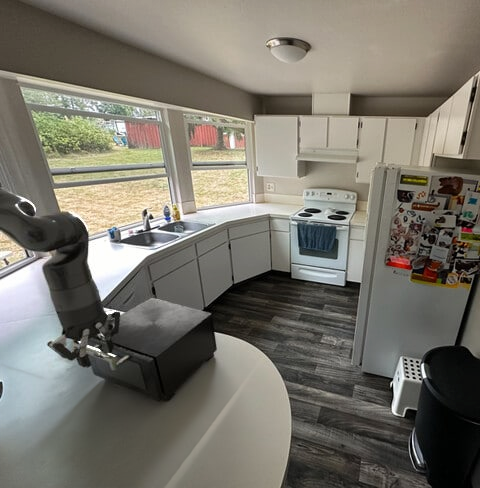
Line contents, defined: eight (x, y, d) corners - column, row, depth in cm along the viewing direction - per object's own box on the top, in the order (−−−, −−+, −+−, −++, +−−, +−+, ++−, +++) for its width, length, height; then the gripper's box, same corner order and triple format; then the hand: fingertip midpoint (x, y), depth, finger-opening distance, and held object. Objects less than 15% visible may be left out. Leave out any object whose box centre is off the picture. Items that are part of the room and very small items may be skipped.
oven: (167, 405, 69) (155, 357, 64) (102, 378, 77) (86, 333, 71) (217, 354, 87) (211, 313, 82) (160, 336, 94) (151, 297, 89)
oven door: (144, 416, 63) (129, 366, 57) (76, 386, 70) (57, 339, 65) (163, 397, 68) (151, 350, 62) (98, 371, 75) (82, 326, 69)
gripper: (101, 283, 64) (117, 337, 70) (24, 314, 51) (51, 377, 57) (122, 288, 62) (137, 343, 68) (47, 322, 49) (73, 386, 55)
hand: (98, 358), depth 63 cm, fingers open, 4 cm apart
